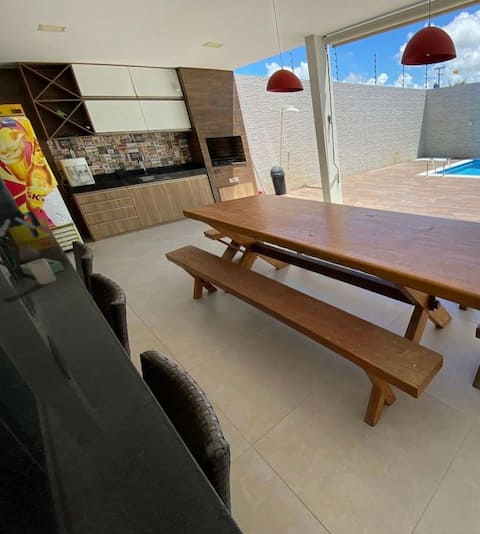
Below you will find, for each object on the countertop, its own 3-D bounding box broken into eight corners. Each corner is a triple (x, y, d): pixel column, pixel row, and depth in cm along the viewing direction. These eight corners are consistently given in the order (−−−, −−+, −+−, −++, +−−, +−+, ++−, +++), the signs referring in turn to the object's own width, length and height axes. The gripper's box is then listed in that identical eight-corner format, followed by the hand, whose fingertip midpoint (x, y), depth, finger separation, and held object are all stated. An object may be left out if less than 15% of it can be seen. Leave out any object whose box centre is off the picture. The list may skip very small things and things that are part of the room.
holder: (41, 278, 133) (37, 270, 131) (24, 273, 139) (19, 265, 138) (64, 270, 140) (60, 262, 138) (47, 265, 146) (43, 258, 144)
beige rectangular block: (43, 285, 126) (31, 265, 122) (36, 283, 128) (24, 264, 125) (59, 279, 131) (48, 260, 127) (52, 277, 133) (42, 258, 129)
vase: (23, 267, 146) (13, 250, 143) (25, 263, 151) (16, 246, 147) (43, 262, 150) (33, 246, 146) (44, 258, 155) (35, 242, 151)
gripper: (20, 196, 122) (40, 234, 129) (-32, 205, 111) (-7, 246, 118) (29, 197, 119) (49, 236, 126) (-24, 206, 108) (2, 248, 115)
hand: (22, 241), depth 122 cm, fingers open, 8 cm apart
